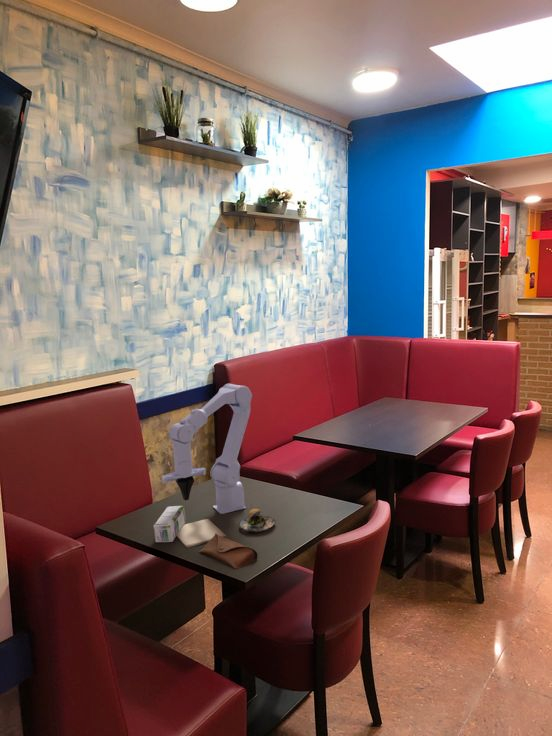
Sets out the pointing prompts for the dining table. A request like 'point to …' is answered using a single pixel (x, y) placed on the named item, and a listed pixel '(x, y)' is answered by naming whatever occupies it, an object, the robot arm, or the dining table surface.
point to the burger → (255, 522)
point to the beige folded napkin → (198, 533)
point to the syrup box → (169, 524)
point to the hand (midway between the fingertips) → (186, 499)
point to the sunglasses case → (229, 552)
